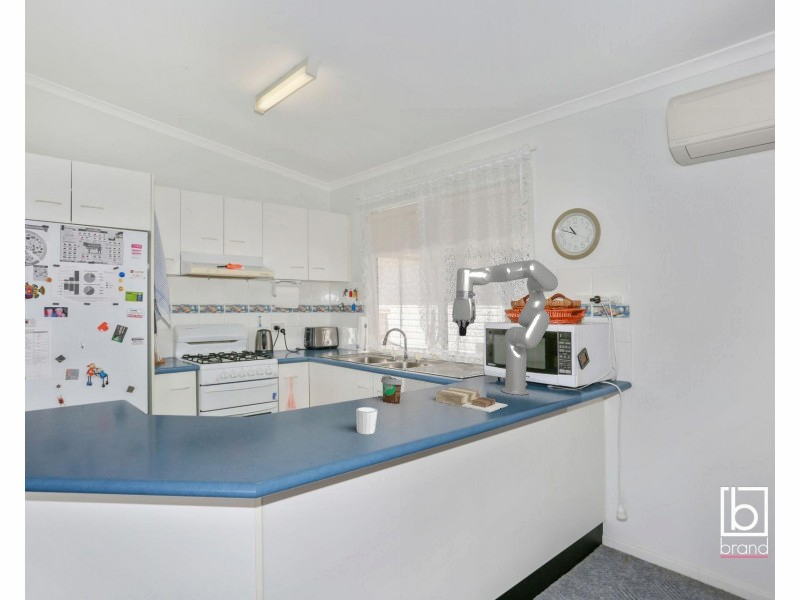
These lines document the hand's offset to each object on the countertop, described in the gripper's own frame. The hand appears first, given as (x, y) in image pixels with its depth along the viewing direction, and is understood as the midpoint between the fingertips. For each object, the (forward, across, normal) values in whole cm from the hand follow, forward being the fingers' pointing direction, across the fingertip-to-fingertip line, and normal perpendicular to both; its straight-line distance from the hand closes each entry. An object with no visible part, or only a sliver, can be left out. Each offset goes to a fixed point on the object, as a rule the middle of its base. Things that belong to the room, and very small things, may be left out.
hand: (462, 335), depth 199 cm
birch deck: (+27, -5, +10) cm, 29 cm away
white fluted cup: (+27, -8, +71) cm, 76 cm away
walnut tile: (+26, -17, +10) cm, 32 cm away
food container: (+27, +14, +34) cm, 46 cm away
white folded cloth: (+27, -18, +10) cm, 34 cm away
